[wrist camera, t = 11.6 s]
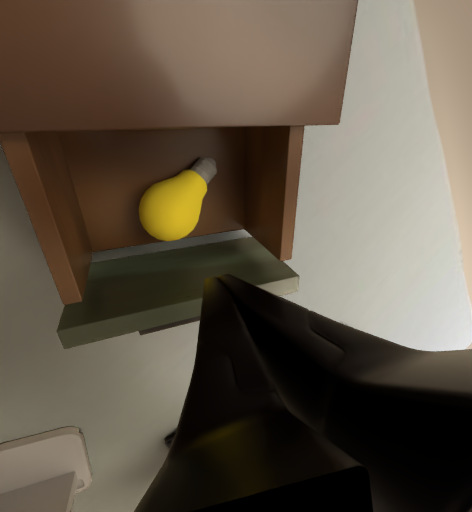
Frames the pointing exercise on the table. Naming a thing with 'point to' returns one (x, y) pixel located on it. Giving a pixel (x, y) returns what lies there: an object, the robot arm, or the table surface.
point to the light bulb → (176, 202)
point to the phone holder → (44, 471)
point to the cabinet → (172, 63)
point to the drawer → (131, 229)
